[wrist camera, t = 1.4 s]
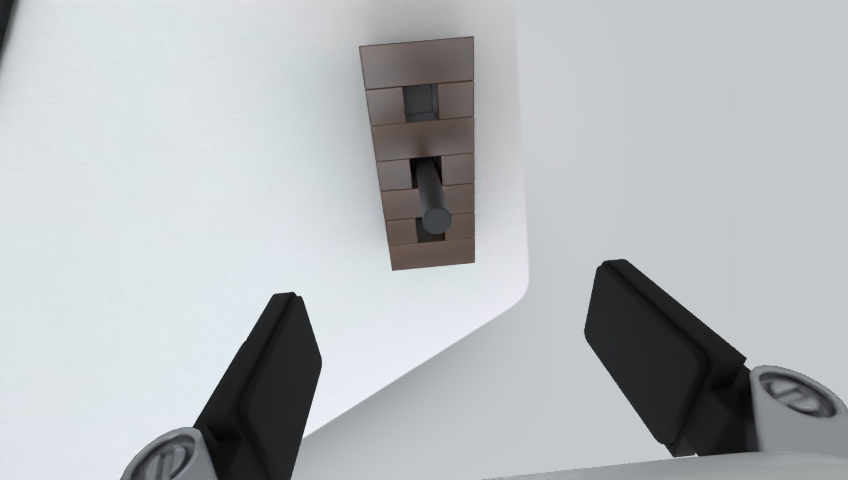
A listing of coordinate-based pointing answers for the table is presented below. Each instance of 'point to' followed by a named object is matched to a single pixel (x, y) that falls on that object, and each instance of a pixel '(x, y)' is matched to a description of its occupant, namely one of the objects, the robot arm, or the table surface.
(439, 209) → the stylus
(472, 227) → the pen stand
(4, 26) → the smartphone
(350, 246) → the table surface
